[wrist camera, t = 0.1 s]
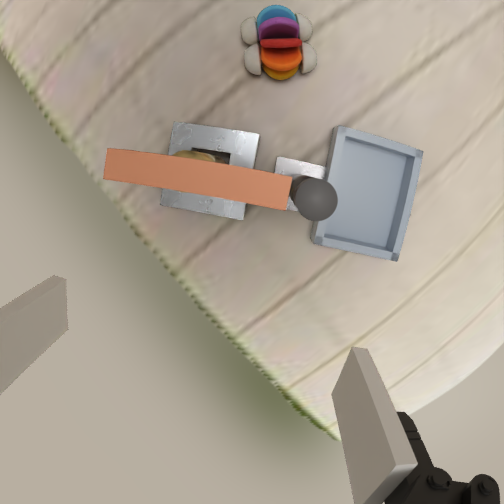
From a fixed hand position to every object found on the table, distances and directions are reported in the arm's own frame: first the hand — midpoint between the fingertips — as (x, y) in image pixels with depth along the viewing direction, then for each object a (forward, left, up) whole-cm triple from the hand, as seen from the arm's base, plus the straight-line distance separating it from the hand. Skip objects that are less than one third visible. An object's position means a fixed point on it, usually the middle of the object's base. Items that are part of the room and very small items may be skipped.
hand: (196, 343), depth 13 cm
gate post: (-6, +5, -28) cm, 29 cm away
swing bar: (-6, -2, -14) cm, 15 cm away
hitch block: (-6, -5, -28) cm, 29 cm away
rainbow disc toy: (-23, 0, -28) cm, 36 cm away
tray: (-7, +14, -28) cm, 32 cm away
